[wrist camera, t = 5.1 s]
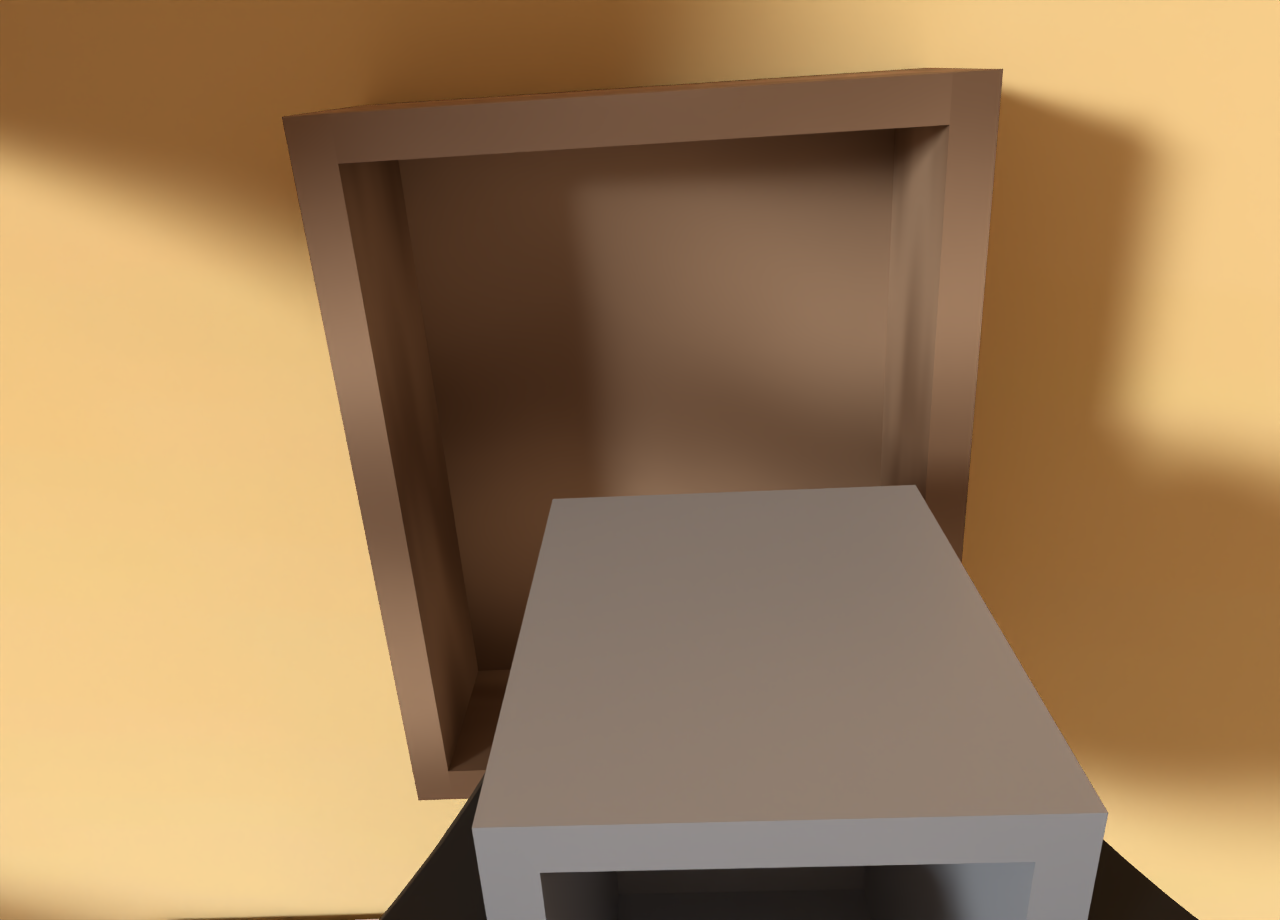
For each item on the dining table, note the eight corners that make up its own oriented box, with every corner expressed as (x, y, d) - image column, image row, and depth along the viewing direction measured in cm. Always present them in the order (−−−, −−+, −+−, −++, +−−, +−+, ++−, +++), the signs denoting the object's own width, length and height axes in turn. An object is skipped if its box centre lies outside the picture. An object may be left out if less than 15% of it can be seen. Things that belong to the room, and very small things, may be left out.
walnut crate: (895, 661, 22) (943, 782, 18) (458, 678, 22) (418, 799, 19) (928, 68, 17) (1003, 69, 13) (362, 105, 17) (281, 116, 14)
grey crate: (886, 885, 16) (1007, 1332, 10) (592, 891, 16) (555, 1333, 10) (915, 484, 13) (1107, 813, 7) (552, 498, 13) (471, 827, 7)
